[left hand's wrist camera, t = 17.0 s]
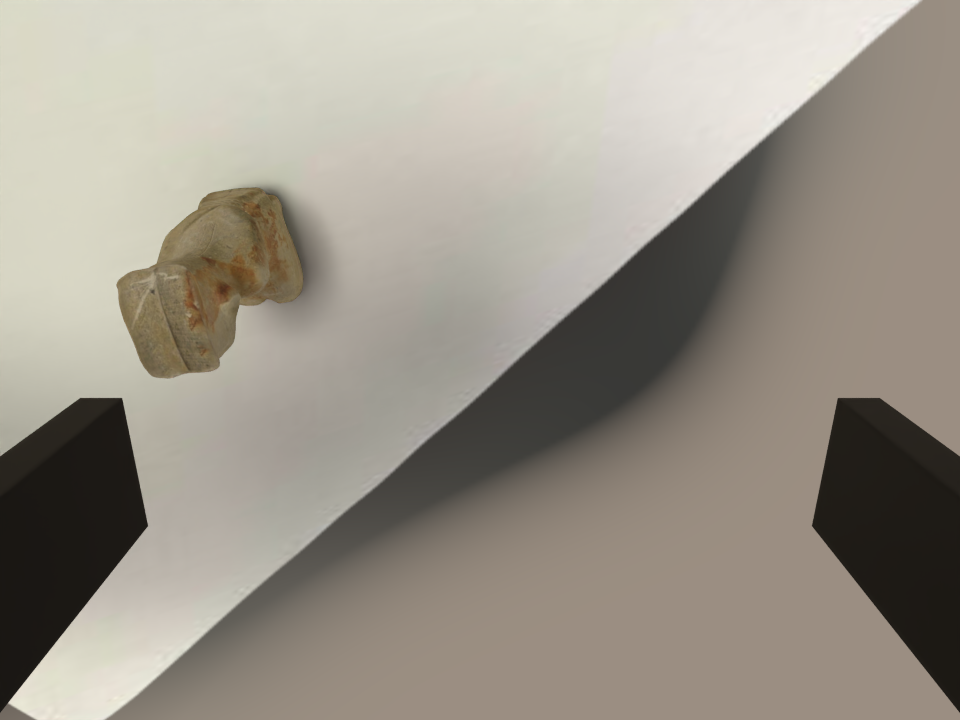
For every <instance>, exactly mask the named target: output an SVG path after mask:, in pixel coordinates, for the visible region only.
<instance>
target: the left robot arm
mask: <svg viewBox="0 0 960 720" xmlns="http://www.w3.org/2000/svg"><path fill="white" fill-rule="evenodd" d="M147 527H148V524H147V519H146V514H145V509H144V504H143V499H142V494H141V489H140V484H139V479H138V474H137V469H136V464H135V460H134V455H133V450H132V445H131V440H130V435H129V430H128V425H127V420H126V415H125V410H124V405H123V400H122V398H80V399H78V400H77V401H76V402H74V403H73V404H72V405H70V406H69V407H67V408H66V409H65V410H63V411H62V412H61V413H59V414H58V415H56V416H55V417H54V418H52V419H51V420H50V421H48V422H47V423H45V424H44V425H43V426H41V427H40V428H39V429H37V430H36V431H35V432H33V433H32V434H30V435H29V436H28V437H26V438H25V439H24V440H22V441H21V442H19V443H18V444H17V445H15V446H14V447H13V448H11V449H10V450H8V451H7V452H6V453H4V454H3V455H2V456H0V712H1V711H2V710H3V708H4V707H5V706H6V705H7V703H8V702H9V701H10V700H11V698H12V697H13V696H14V695H15V693H16V692H17V691H18V689H19V688H20V687H21V686H22V684H23V683H24V682H25V681H26V679H27V678H28V677H29V676H30V674H31V673H32V672H33V671H34V669H35V668H36V667H37V665H38V664H39V663H40V662H41V660H42V659H43V658H44V657H45V655H46V654H47V653H48V652H49V650H50V649H51V648H52V647H53V645H54V644H55V643H56V642H57V640H58V639H59V638H60V636H61V635H62V634H63V633H64V631H65V630H66V629H67V628H68V626H69V625H70V624H71V623H72V621H73V620H74V619H75V618H76V616H77V615H78V614H79V612H80V611H81V610H82V609H83V607H84V606H85V605H86V604H87V602H88V601H89V600H90V599H91V597H92V596H93V595H94V594H95V592H96V591H97V590H98V588H99V587H100V586H101V585H102V583H103V582H104V581H105V580H106V578H107V577H108V576H109V575H110V573H111V572H112V571H113V570H114V568H115V567H116V566H117V564H118V563H119V562H120V561H121V559H122V558H123V557H124V556H125V554H126V553H127V552H128V551H129V549H130V548H131V547H132V546H133V544H134V543H135V542H136V540H137V539H138V538H139V537H140V535H141V534H142V533H143V532H144V530H145V529H146V528H147ZM812 527H813V528H814V529H815V530H816V532H817V533H818V534H819V535H820V537H821V538H822V539H823V540H824V542H825V543H826V544H827V546H828V547H829V548H830V549H831V551H832V552H833V553H834V554H835V556H836V557H837V558H838V559H839V561H840V562H841V563H842V564H843V566H844V567H845V568H846V570H847V571H848V572H849V573H850V575H851V576H852V577H853V578H854V580H855V581H856V582H857V583H858V585H859V586H860V587H861V588H862V590H863V591H864V592H865V593H866V595H867V596H868V597H869V599H870V600H871V601H872V602H873V604H874V605H875V606H876V607H877V609H878V610H879V611H880V612H881V614H882V615H883V616H884V617H885V619H886V620H887V621H888V623H889V624H890V625H891V626H892V628H893V629H894V630H895V631H896V633H897V634H898V635H899V636H900V638H901V639H902V640H903V642H904V643H905V644H906V645H907V647H908V648H909V649H910V650H911V652H912V653H913V654H914V655H915V657H916V658H917V659H918V660H919V662H920V663H921V664H922V665H923V667H924V668H925V669H926V671H927V672H928V673H929V674H930V676H931V677H932V678H933V679H934V681H935V682H936V683H937V684H938V686H939V687H940V688H941V689H942V691H943V692H944V693H945V695H946V696H947V697H948V698H949V700H950V701H951V702H952V703H953V705H954V706H955V707H956V708H957V710H958V711H959V712H960V456H958V455H957V454H956V453H954V452H953V451H952V450H950V449H949V448H947V447H946V446H945V445H943V444H942V443H941V442H939V441H938V440H936V439H935V438H934V437H932V436H931V435H930V434H928V433H927V432H925V431H924V430H923V429H921V428H920V427H919V426H917V425H916V424H914V423H913V422H912V421H910V420H909V419H908V418H906V417H905V416H904V415H902V414H901V413H899V412H898V411H897V410H895V409H894V408H893V407H891V406H890V405H888V404H887V403H886V402H884V401H883V400H882V399H880V398H838V400H837V405H836V410H835V415H834V420H833V425H832V430H831V435H830V440H829V445H828V450H827V455H826V460H825V465H824V470H823V474H822V479H821V484H820V489H819V494H818V499H817V504H816V509H815V514H814V519H813V524H812Z"/></svg>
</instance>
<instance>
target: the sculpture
mask: <svg viewBox="0 0 960 720" xmlns="http://www.w3.org/2000/svg"><path fill="white" fill-rule="evenodd" d="M282 211H283V210H282V206H281V203H280V201H279V199H278V198H277V197H276V196H274V195H266V193H265V192H264V191H263V190H262V189H260V188H239V189H231V190H224V191H218V192H213V193H210V194H208V195H207V196H206V197H204V198H203V199H202V200H201V202H200V204H199V206H198V210H196V211H195V212H193V213H191V214H190V215H189V216H187V217H186V218H185V219H184V220H183V221H182V222H181V223H179V224H178V225H177V226H176V227H175V228H174V229H173V230H171V231H170V232H169V234H168V235H167V236H166V237H165V240H164V242H163V245H162V248H161V251H160V254H159V257H158V261H157V264H155V265H153V266H151V267H150V268H147V269H142V270H136V271H132V272H130V273H128V274H126V275H125V276H123V277H122V278H121V279H120V280H119V281H118V282H117V288H118V294H119V305H120V309H121V313H122V316H123V319H124V322H125V324H126V326H127V329H128V331H129V333H130V335H131V338H132V340H133V342H134V345H135V348H136V350H137V353H138V356H139V358H140V361H141V363H142V364H143V366H144V368H145V369H146V370H147V371H148V373H149V374H150V375H151V376H153V377H157V378H173V377H176V376H179V375H181V374H185V373H196V372H209V371H213V370H215V369H217V368H218V367H219V365H220V362H219V358H220V357H221V356H222V355H223V354H224V353H225V352H226V351H227V350H228V348H229V347H230V346H231V345H232V344H233V342H234V339H235V330H236V316H237V312H238V308H239V304H240V305H245V306H254V305H259V304H261V303H262V302H264V301H265V300H266V299H270V300H273V301H276V302H277V303H284V302H290V301H293V300H294V299H296V298H297V297H298V296H299V295H300V293H301V291H302V287H303V272H302V268H301V264H300V260H299V257H298V255H297V252H296V249H295V246H294V243H293V241H292V238H291V236H290V234H289V232H288V229H287V226H286V224H285V221H284V218H283V214H282Z"/></svg>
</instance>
